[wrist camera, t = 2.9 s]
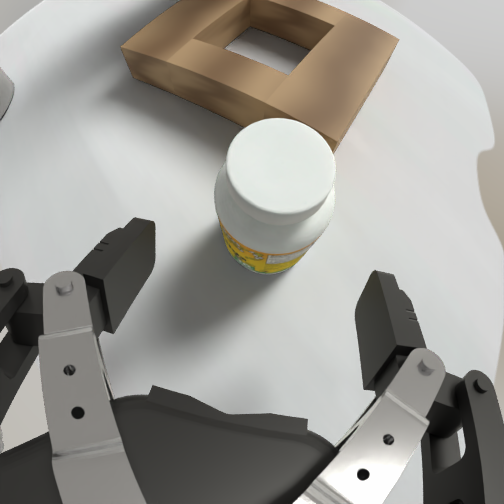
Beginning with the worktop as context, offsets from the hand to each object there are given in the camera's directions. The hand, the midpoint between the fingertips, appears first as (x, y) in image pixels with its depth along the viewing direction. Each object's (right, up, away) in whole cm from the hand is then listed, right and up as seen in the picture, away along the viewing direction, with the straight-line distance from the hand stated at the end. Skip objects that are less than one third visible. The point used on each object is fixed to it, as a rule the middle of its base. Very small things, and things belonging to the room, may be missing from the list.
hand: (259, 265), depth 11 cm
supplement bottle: (+1, +2, +9) cm, 9 cm away
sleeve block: (+1, +17, +12) cm, 21 cm away
